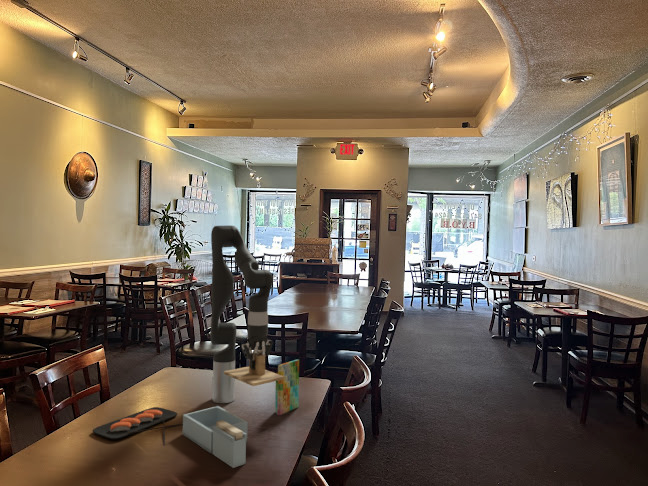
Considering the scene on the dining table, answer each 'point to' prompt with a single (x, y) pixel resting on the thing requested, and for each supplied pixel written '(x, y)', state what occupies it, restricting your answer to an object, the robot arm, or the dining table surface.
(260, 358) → the lid
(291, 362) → the puzzle game
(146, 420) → the sushi plate
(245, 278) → the robot arm
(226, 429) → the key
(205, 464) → the dining table surface
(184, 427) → the toolbox
